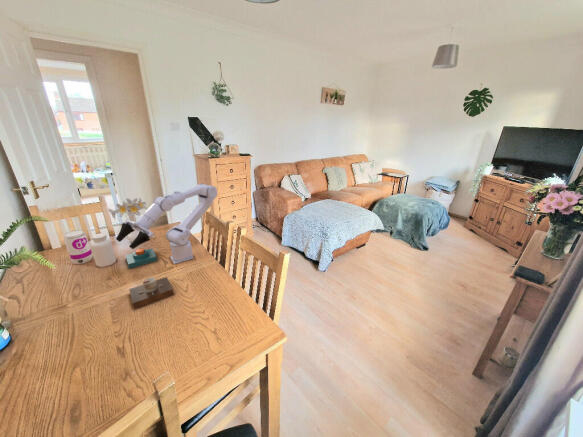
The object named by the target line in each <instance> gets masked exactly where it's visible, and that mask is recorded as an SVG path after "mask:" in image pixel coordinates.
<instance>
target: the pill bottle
mask: <svg viewBox="0 0 583 437" xmlns="http://www.w3.org/2000/svg"><path fill="white" fill-rule="evenodd" d="M91 239H92V241H91V242H90V243H89V245H90V248H91V251H92V254H93V259H94V261H95V265H96V266H97V267H99V268H105V267H109V266H111V265H114V264H115V263H116V262H117V257H116V254H115V250H114V246H113V243H112V240H111V239H110V238H108V237H107V234H106V233H103V232H102V233H96V234H94V235H92V236H91Z"/></svg>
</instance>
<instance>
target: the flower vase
mask: <svg viewBox="0 0 583 437" xmlns="http://www.w3.org/2000/svg"><path fill="white" fill-rule="evenodd" d="M125 200H126V201H127V202H126V201H125ZM125 200H123V201H122V205H121V204H120V203H116V204H115V206H116V209H115V210H114V209H111V208H110V207H108V206H106V208H107V211H108V212H109V213H110V214H111V216H112V218H113V219H114V220H116V214H119V217H120V218H122V217H124V214H127V217H128V220H130V221H133V222H136V221H137V218H136V216H138V217H141V212H140V211H141V210H144V209H145V210H146V211H147V210H148V209H149V207H147V206H146V205H147V202H146V201H142V199H141V198H140V197H139V198H133V200H132V199H130V198H128V197H127V198H126V199H125ZM132 229H134V228H132ZM137 229H138V228H137ZM134 230H135V231H133V232H131V233H130V234H128V235H127V236H126V239H127V240H128V241H129V242H131V243H132V242H133V241H134V240H135V239H136V237H137V236H138V234H139V232H140V231H138V230H136V229H134ZM139 230H140V229H139Z"/></svg>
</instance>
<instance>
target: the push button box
mask: <svg viewBox="0 0 583 437" xmlns="http://www.w3.org/2000/svg"><path fill="white" fill-rule="evenodd" d="M143 249H144V248H143ZM125 259H126V262H127V266H128V269H129V270H131V269H134V268H137V267H142V266H144V265H148V264H151V263H154V262H158V258H157V255H156V253H155V251H154V249H153V248H148V249H144V253H143V254H141V255H136V252H135V251H133V252H132V253H129V254H125Z"/></svg>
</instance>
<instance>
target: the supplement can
mask: <svg viewBox="0 0 583 437" xmlns="http://www.w3.org/2000/svg"><path fill="white" fill-rule="evenodd" d="M62 239H63V242H64V245H65V247H66V251H67V253H68V256H69V259H70V261H71V263H72V264H74V265H82V264H86V263H88V262H90V261H91V260H93V259H94V256H93V253H92V249H91V246H90V242H89V239H88V236H87V233H86V232H85V231H84V230H82V229H76V230H71V231H68V232H66V233H64V234H63V237H62Z"/></svg>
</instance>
